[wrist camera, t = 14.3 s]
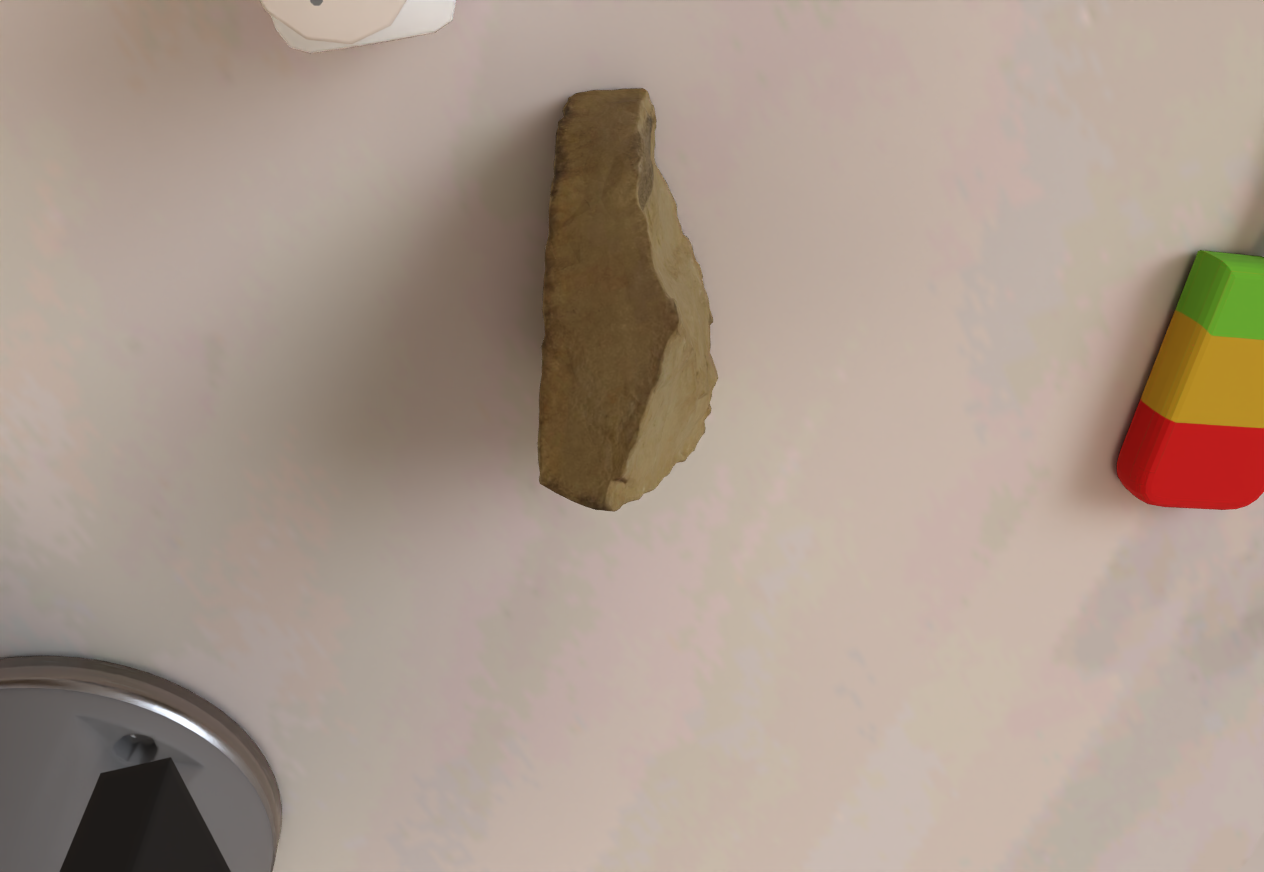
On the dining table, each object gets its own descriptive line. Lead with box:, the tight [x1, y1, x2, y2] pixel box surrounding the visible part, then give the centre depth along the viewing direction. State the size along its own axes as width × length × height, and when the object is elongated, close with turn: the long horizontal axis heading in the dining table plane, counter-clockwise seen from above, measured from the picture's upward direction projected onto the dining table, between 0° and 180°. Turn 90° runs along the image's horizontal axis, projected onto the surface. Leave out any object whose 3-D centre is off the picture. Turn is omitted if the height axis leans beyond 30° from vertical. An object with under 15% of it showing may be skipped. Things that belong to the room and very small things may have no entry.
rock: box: [538, 88, 718, 511], centre depth 29 cm, size 11×9×10 cm
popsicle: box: [1117, 250, 1264, 510], centre depth 35 cm, size 6×15×2 cm, turn 172°
